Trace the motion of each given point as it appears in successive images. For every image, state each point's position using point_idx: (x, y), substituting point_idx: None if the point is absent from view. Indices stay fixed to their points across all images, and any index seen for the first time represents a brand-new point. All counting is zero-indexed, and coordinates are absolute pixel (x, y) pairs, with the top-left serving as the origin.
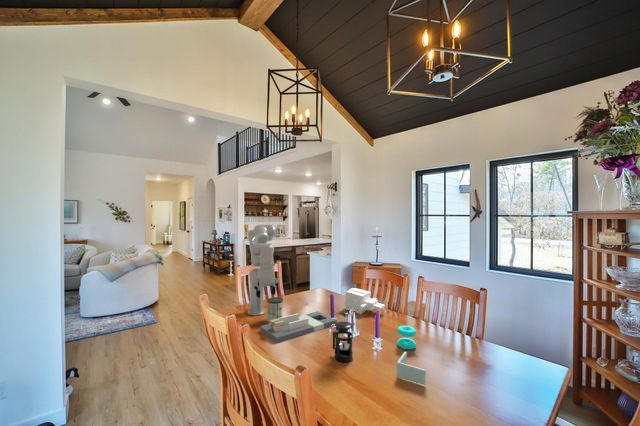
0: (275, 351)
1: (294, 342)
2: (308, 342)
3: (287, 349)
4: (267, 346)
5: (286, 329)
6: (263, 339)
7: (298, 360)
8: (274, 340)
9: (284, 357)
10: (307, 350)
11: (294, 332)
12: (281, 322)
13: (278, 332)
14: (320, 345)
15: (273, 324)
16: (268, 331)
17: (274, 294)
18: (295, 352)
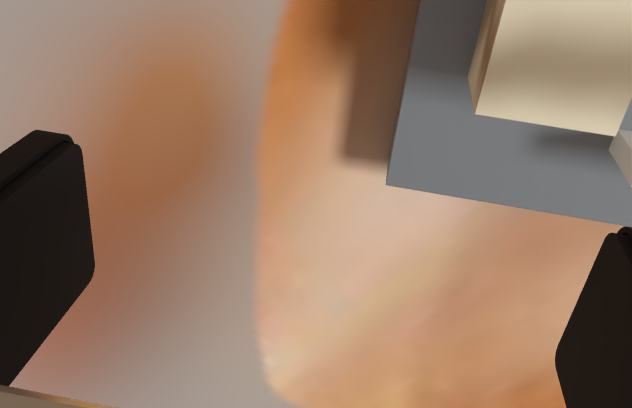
0: (293, 247)
1: (501, 251)
2: None
3: (376, 284)
4: (293, 150)
5: None
6: (349, 11)
7: (330, 400)
8: (395, 128)
9: (290, 333)
10: (462, 376)
11: (593, 220)
12: (569, 126)
13: None
14: None
15: (484, 59)
16: (429, 4)
17: (565, 376)
18: (385, 341)
